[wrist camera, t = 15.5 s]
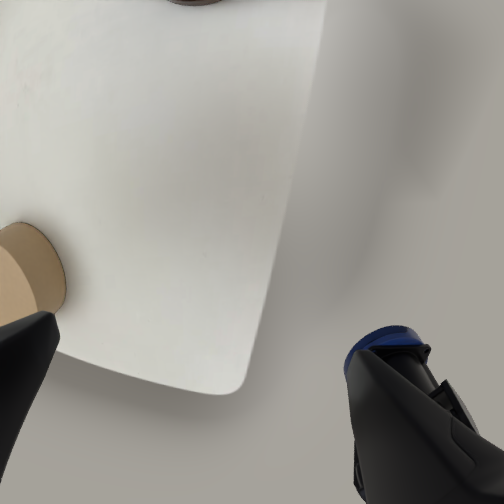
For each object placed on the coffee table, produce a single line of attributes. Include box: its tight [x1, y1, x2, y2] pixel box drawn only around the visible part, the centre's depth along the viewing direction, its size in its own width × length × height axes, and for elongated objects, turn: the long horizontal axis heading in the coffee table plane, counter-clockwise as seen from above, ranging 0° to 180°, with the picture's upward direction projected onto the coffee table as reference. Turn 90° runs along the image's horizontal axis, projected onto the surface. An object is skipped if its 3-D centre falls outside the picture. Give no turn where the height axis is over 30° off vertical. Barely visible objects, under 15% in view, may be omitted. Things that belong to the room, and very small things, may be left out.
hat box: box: [0, 223, 66, 327], centre depth 20 cm, size 9×9×4 cm
